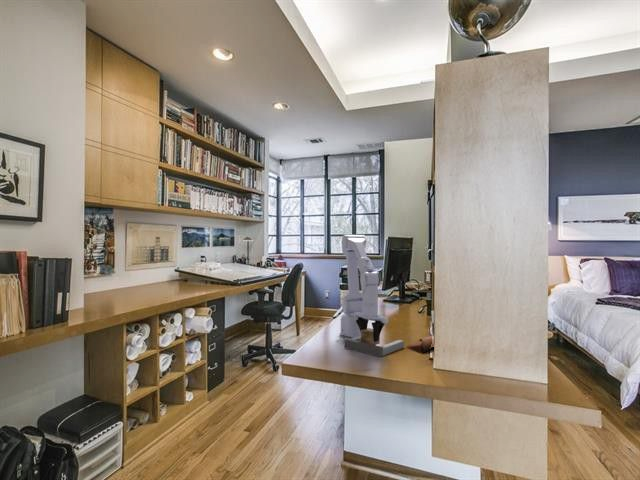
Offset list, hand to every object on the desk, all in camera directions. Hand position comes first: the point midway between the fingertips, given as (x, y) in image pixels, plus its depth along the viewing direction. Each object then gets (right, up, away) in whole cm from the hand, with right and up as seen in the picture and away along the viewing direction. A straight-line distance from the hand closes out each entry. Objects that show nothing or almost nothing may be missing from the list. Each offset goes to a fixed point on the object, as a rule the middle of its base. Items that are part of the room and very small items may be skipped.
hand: (370, 339), depth 119 cm
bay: (+2, -4, +2) cm, 5 cm away
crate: (0, -2, 0) cm, 2 cm away
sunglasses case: (+23, -4, +3) cm, 23 cm away
